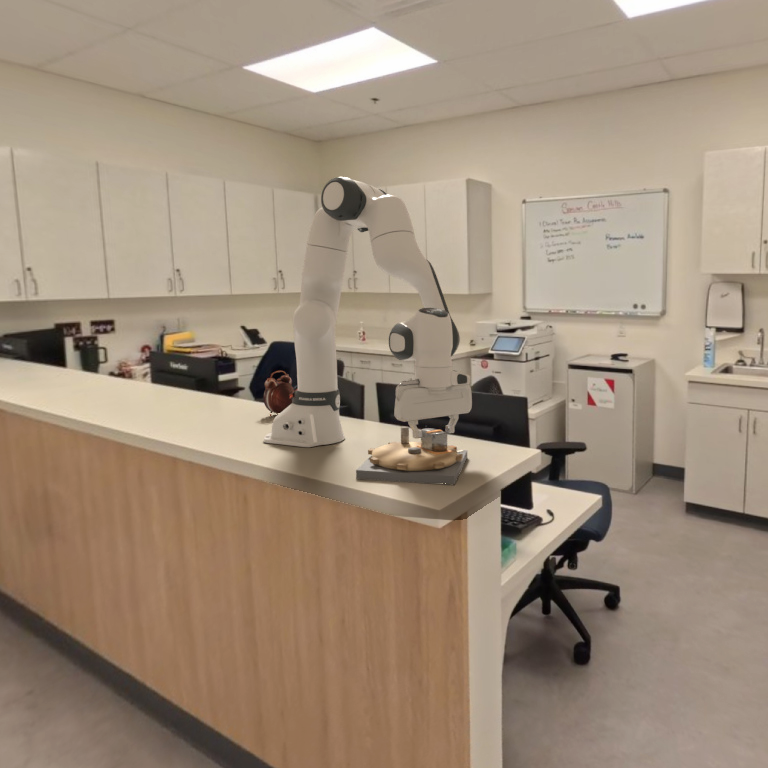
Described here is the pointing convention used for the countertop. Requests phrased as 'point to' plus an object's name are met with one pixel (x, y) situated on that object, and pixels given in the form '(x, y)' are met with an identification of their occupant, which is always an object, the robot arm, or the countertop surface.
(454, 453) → the sprocket disc
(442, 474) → the index base
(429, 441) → the silver toaster
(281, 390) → the alarm clock
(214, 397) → the countertop surface
